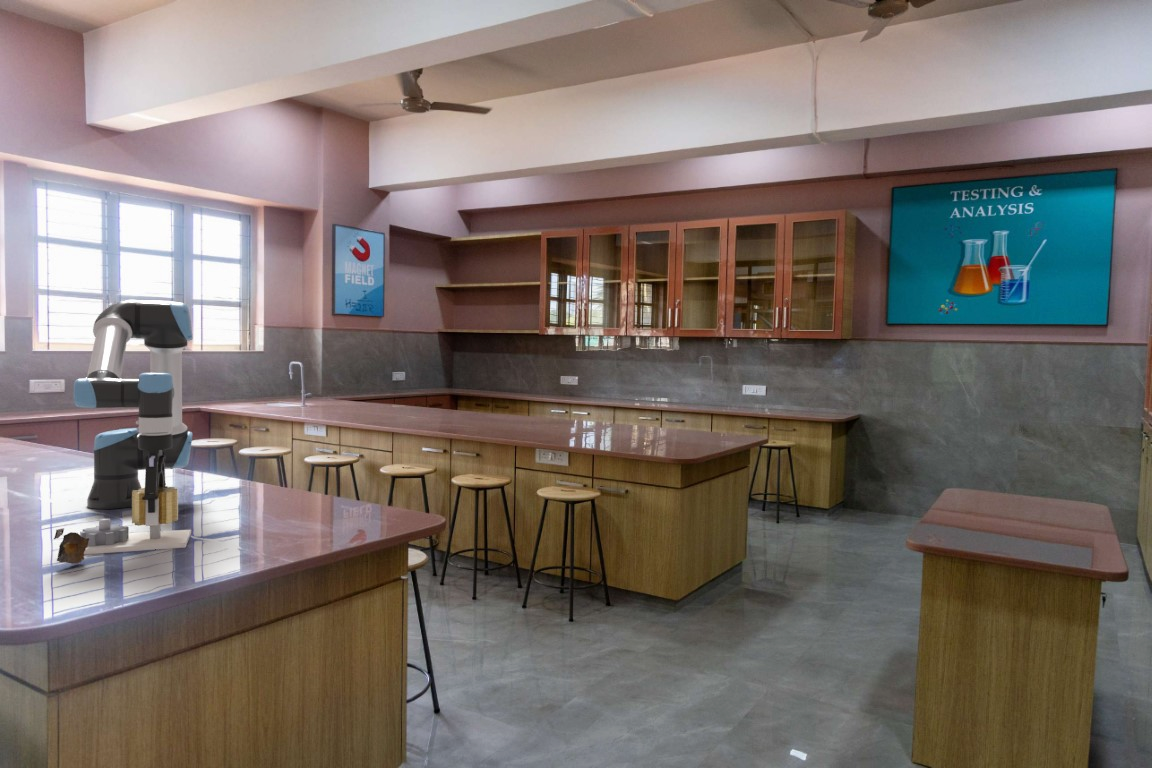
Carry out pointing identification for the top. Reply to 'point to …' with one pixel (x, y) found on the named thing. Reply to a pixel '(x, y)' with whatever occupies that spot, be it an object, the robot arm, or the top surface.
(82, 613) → the top surface
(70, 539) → the rock
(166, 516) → the brass gear
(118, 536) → the gear board
